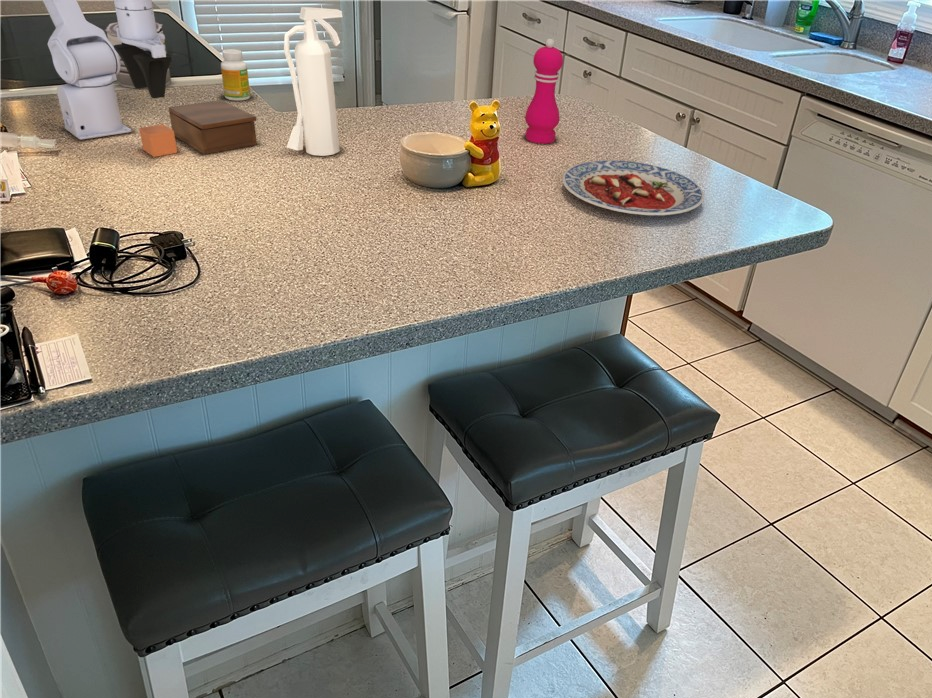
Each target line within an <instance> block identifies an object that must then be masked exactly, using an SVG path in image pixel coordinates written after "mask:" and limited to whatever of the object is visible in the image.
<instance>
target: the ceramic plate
mask: <svg viewBox="0 0 932 698" xmlns="http://www.w3.org/2000/svg"><path fill="white" fill-rule="evenodd" d="M561 179H562V184H563V186H564V187H565V189H566V190H567V191H568V192H569V193H570V194H571V195H574V196H575V197H576V198H578V199H580V200H582V201H584V202H586V203H589V204H592V205H594V206H595V207H599V208H603V209H607V210H610V211H614V212H619V213H624V214H631V215H640V216H670V215H671V216H672V215H678V214H682V213H687V212H690V211H692V210H694V209H696V208H698V207H700V205H701V204H702V203H703V202H704V199H705V193H704V191H703V189H702V188H701V187H700V186H699V185H698V183H696V182H695V181H693V180H692V179H690V178H688V177H687V176H685V175H683V174H681V173H678V172H676V171H673V170H670V169H667V168H665V167H661V166H657V165H654V164H649V163H644V162H637V161H629V160H627V161H626V160H617V159H616V160H615V159H614V160H612V159H609V160H608V159H607V160H604V159H603V160H592V161H587V162H582V163H579V164H578V163H577V164H576V165H573V166H571V167H569V168H568V169H566V171H564V172H563V174H562V177H561Z"/></svg>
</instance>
